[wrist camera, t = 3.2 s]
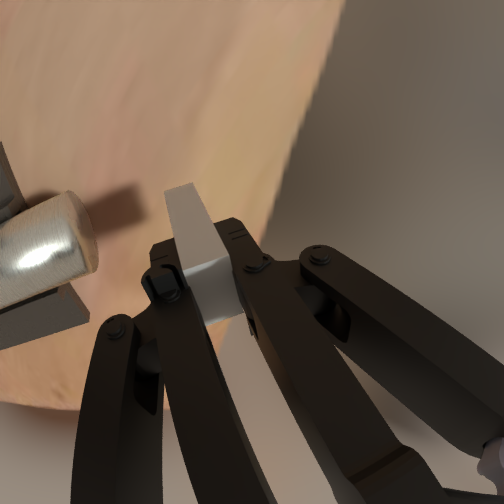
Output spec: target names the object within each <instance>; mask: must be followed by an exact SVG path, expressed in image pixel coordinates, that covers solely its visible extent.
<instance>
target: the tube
mask: <svg viewBox="0 0 504 504" xmlns="http://www.w3.org/2000/svg"><path fill="white" fill-rule="evenodd" d="M98 262H99V257H98V248H97V242H96V238H95V234H94V230H93V227H92V224H91V221H90V219H89V216H88V214H87V212H86V209H85V207H84V206H83V204H82V202H81V200H80V199H79V198H78V196H77V195H76V194H75V193H74V192H72V191H69V190H68V191H66V192H63V193H61V194H59V195H57V196H55V197H53V198H50V199H48V200H46V201H44V202H42V203H40V204H38V205H36V206H34V207H32V208H30V209H28V210H26V211H24V212H22V213H20V214H19V215H17V216H15V217H13V218H11V219H9V220H7V221H6V222H4V223H2V224H0V309H2V308H5V307H7V306H9V305H12V304H14V303H17V302H19V301H22V300H24V299H27V298H29V297H32V296H34V295H37V294H39V293H42V292H44V291H47V290H49V289H52V288H55V287H57V286H60V285H62V284H65V283H68V282H70V281H73V280H75V279H78V278H81V277H83V276H86V275H89V274H91V273H94V272H95V271H96V270H97V268H98Z"/></svg>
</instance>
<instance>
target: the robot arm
mask: <svg viewBox="0 0 504 504" xmlns="http://www.w3.org/2000/svg"><path fill="white" fill-rule="evenodd" d="M164 195H165V200H166V204H167V209H168V213H169V218H170V222H171V226H172V230H173V235H174V238H171V239H168V240H165V241H162V242H160V243H157V244H154V245H153V246H152V249H151V251H150V253H149V254H150V263H151V267H150V268H149V269H148V270H147V271H146V272H145V273H144V275H143V276H142V279H141V284H142V286H143V288H144V290H145V292H146V293H147V295H148V297H149V299H150V301H151V304H150V305H149V306H148V307H147V308H146V309H145V310H144V311H143V312H141V313H140V314H138V315H137V316H135V317H134V318H131V317H130V316H128V315H126V314H118V315H114V316H112V317H110V318H108V319H107V320H106V321H105V322H104V323H103V324H102V325H101V327H100V329H99V331H98V334H97V337H96V341H95V345H94V349H93V353H92V357H91V361H90V365H89V370H88V374H87V379H86V383H85V388H84V393H83V398H82V403H81V409H80V415H79V421H78V428H77V434H76V442H75V449H74V459H73V469H72V482H71V501H70V504H163V486H162V428H163V426H162V425H163V400H164V383H165V388H166V392H167V397H168V401H169V406H170V410H171V414H172V418H173V422H174V426H175V430H176V434H177V437H178V441H179V445H180V448H181V452H182V455H183V458H184V462H185V465H186V468H187V472H188V475H189V478H190V481H191V484H192V487H193V490H194V493H195V496H196V498H197V501H198V504H278V503H277V501H276V499H275V497H274V495H273V493H272V491H271V489H270V486H269V484H268V482H267V480H266V478H265V476H264V473H263V471H262V469H261V467H260V465H259V462H258V460H257V458H256V455H255V453H254V451H253V448H252V446H251V444H250V442H249V439H248V437H247V434H246V432H245V429H244V427H243V425H242V422H241V420H240V417H239V415H238V412H237V410H236V407H235V404H234V402H233V400H232V397H231V394H230V392H229V389H228V386H227V384H226V381H225V378H224V376H223V373H222V370H221V368H220V365H219V362H218V359H217V356H216V353H215V350H214V348H213V345H212V342H211V339H210V336H209V334H208V332H207V329H206V327H205V326H208V325H210V324H213V323H216V322H219V321H222V320H225V319H227V318H230V317H233V316H236V315H238V314H241V313H244V312H243V309H244V311H245V314H246V317H247V321H248V325H249V329H250V333H251V335H254V337H255V339H256V341H257V343H258V345H259V347H260V349H261V352H262V353H263V356H264V358H265V360H266V362H267V364H268V366H269V368H270V370H271V372H272V374H273V376H274V378H275V380H276V382H277V384H278V386H279V388H280V390H281V392H282V394H283V396H284V398H285V400H286V402H287V404H288V406H289V408H290V410H291V412H292V414H293V416H294V418H295V420H296V422H297V424H298V426H299V428H300V429H301V431H302V433H303V435H304V437H305V439H306V441H307V443H308V445H309V447H310V449H311V450H312V452H313V454H314V456H315V458H316V460H317V462H318V464H319V465H320V467H321V469H322V471H323V473H324V475H325V476H326V478H327V480H328V482H329V484H330V486H331V488H332V491H333V494H334V496H335V499H336V501H337V502H338V504H504V365H503V364H501V363H500V362H499V361H497V360H496V359H495V358H494V357H492V356H491V355H490V354H488V353H487V352H486V351H484V350H483V349H482V348H480V347H479V346H477V345H476V344H475V343H474V342H472V341H471V340H469V339H468V338H467V337H465V336H464V335H463V334H461V333H460V332H458V331H457V330H456V329H454V328H453V327H451V326H450V325H449V324H447V323H446V322H444V321H443V320H441V319H440V318H439V317H437V316H436V315H434V314H433V313H432V312H430V311H429V310H427V309H426V308H424V307H423V306H421V305H420V304H419V303H417V302H416V301H414V300H413V299H411V298H410V297H408V296H407V295H405V294H404V293H402V292H401V291H399V290H398V289H396V288H395V287H393V286H392V285H390V284H388V283H387V282H386V281H384V280H383V279H381V278H379V277H378V276H376V275H375V274H373V273H372V272H370V271H369V270H367V269H366V268H364V267H362V266H361V265H359V264H358V263H356V262H355V261H353V260H351V259H350V258H348V257H347V256H345V255H344V254H342V253H340V252H339V251H337V250H336V249H334V248H332V247H329V246H326V245H313V246H310V247H308V248H306V249H304V250H303V251H302V252H301V254H300V256H299V260H292V261H276V260H274V259H273V258H272V257H271V256H270V255H268V254H265V253H263V252H262V251H261V249H260V248H259V246H258V245H257V244H256V242H255V241H254V239H253V238H252V236H251V235H250V234H249V232H248V230H247V229H246V228H245V226H244V225H243V223H242V222H241V221H240V220H237V219H235V218H233V217H232V218H229V219H226V220H223V221H220V222H216V223H213V222H212V220H211V218H210V216H209V214H208V212H207V210H206V208H205V206H204V204H203V202H202V200H201V198H200V196H199V194H198V192H197V190H196V188H195V186H194V184H193V182H192V183H189V184H186V185H182V186H179V187H176V188H173V189H170V190H167V191H164ZM242 307H243V308H242ZM333 344H334V345H335V346H336V347H337V348H339V349H340V350H341V351H342V352H343V353H344V354H346V356H348V357H349V358H350V359H351V360H352V361H353V362H355V363H356V364H357V365H358V366H359V367H360V368H361V369H363V370H364V371H365V372H366V373H367V374H368V375H370V376H371V377H372V378H373V379H374V380H376V381H377V382H378V383H379V384H380V385H381V386H382V387H384V388H385V389H386V390H387V391H388V392H389V393H391V394H392V395H393V396H394V397H395V398H397V399H398V400H399V401H400V402H401V403H403V404H404V405H405V406H406V407H407V408H408V409H410V410H411V411H412V412H413V413H414V414H415V415H417V416H418V417H419V418H420V419H422V420H423V421H424V422H425V423H426V424H427V425H429V426H430V427H431V428H432V429H433V430H435V431H436V432H437V433H438V434H439V435H441V436H442V437H443V438H444V439H445V440H447V441H448V442H449V443H451V444H452V445H453V446H455V447H456V448H457V449H459V450H461V451H463V452H465V453H467V454H468V455H471V456H474V457H477V458H480V459H481V460H480V461H479V463H478V465H477V471H478V473H479V474H480V475H484V476H485V477H486V478H487V479H489V480H491V481H492V482H493V483H494V484H495V486H496V488H497V495H490V494H480V493H474V492H467V491H460V490H454V489H449V488H442V486H441V485H440V483H439V482H438V480H437V479H436V477H435V476H434V474H433V473H432V471H431V469H430V468H429V466H428V465H427V463H426V462H425V460H424V459H423V458H422V457H421V456H420V455H419V453H418V452H416V451H415V450H414V449H413V448H411V447H408V446H405V445H403V444H402V443H401V442H399V440H398V439H397V438H396V437H395V435H394V433H393V432H392V430H391V429H390V427H389V426H388V424H387V423H386V421H385V420H384V418H383V417H382V415H381V414H380V413H379V411H378V409H377V408H376V406H375V405H374V403H373V402H372V401H371V399H370V398H369V396H368V395H367V393H366V392H365V390H364V389H363V387H362V386H361V384H360V383H359V381H358V380H357V378H356V377H355V375H354V374H353V373H352V371H351V369H350V368H349V367H348V365H347V364H346V362H345V361H344V359H343V358H342V356H341V355H340V354H339V352H338V351H337V349H336V348H335V346H334V345H333Z"/></svg>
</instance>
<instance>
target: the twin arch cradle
mask: <svg viewBox="0 0 504 504" xmlns="http://www.w3.org/2000/svg"><path fill="white" fill-rule="evenodd" d="M26 210H28V207H27V204H26V202H25V200H24V198H23V196H22V193H21V191H20V189H19V187H18V184H17V182H16V179H15V177H14V175H13V172H12V170H11V167H10V164H9V162H8V159H7V156H6V154H5V151H4V148H3V145H2V142H0V224H2V223H4V222H6V221H7V220H9V219H11V218H13V217H15V216H17V215H19V214H20V213H22V212H24V211H26ZM89 317H90V312H89V311H88V309H87V308H86V306H85V305H84V304H83V302H82V301H81V299H80V298H79V296H78V295H77V293H76V292H75V290H74V289H73V287H72V286H71V284H70V282H68V283H65V284H62V285H60V286H57V287H55V288H52V289H49V290H47V291H44V292H42V293H39V294H37V295H34V296H32V297H29V298H27V299H24V300H22V301H19V302H17V303H14V304H12V305H9V306H7V307H5V308H2V309H0V350H3V349H6V348H9V347H13V346H16V345H19V344H22V343H25V342H29V341H32V340H35V339H38V338H41V337H44V336H47V335H51V334H54V333H57V332H60V331H63V330H66V329H69V328H72V327H75V326H78V325H82V324H85V323H88V322H89Z"/></svg>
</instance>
